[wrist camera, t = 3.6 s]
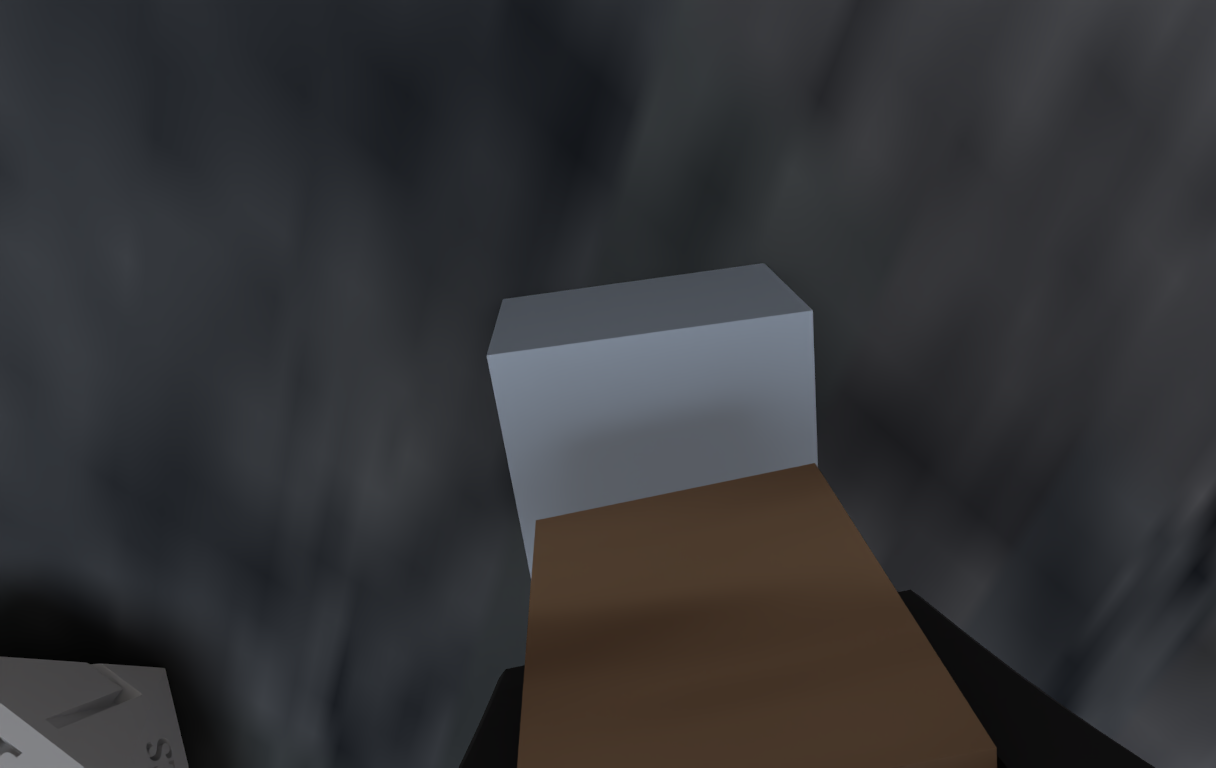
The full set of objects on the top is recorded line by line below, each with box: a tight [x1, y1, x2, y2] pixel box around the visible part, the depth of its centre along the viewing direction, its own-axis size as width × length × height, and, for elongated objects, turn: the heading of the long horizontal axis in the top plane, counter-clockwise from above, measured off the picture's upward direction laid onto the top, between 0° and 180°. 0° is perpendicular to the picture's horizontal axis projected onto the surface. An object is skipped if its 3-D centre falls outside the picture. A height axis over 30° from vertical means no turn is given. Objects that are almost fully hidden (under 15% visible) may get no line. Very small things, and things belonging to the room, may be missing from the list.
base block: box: [487, 263, 818, 577], centre depth 17 cm, size 6×6×4 cm
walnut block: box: [517, 463, 997, 768], centre depth 9 cm, size 4×4×5 cm
